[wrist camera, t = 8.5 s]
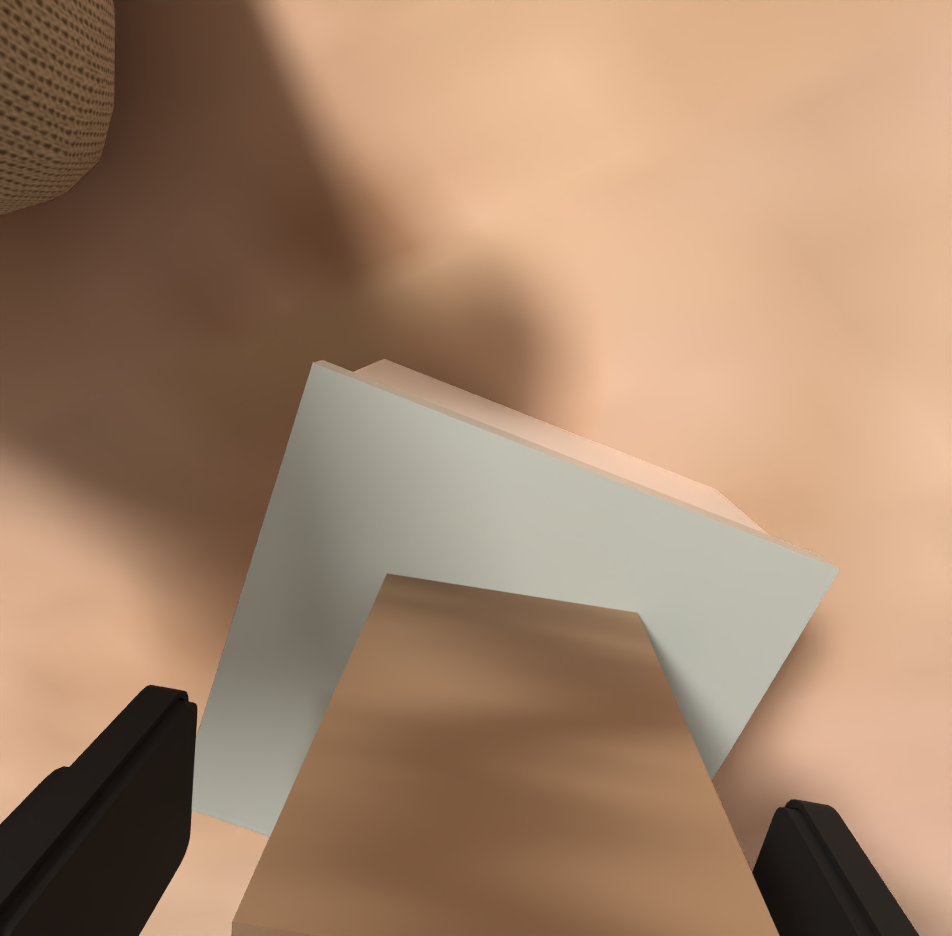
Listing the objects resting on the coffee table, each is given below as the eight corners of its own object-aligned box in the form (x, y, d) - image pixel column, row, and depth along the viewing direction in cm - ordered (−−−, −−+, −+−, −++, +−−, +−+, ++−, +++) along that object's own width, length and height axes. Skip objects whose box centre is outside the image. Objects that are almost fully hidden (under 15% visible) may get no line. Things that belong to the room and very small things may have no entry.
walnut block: (637, 612, 12) (814, 1014, 5) (588, 816, 13) (676, 1354, 6) (386, 573, 12) (231, 921, 5) (361, 781, 13) (212, 1277, 6)
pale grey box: (727, 481, 17) (840, 569, 11) (577, 766, 20) (607, 954, 14) (379, 343, 17) (312, 362, 11) (273, 655, 19) (175, 804, 14)
